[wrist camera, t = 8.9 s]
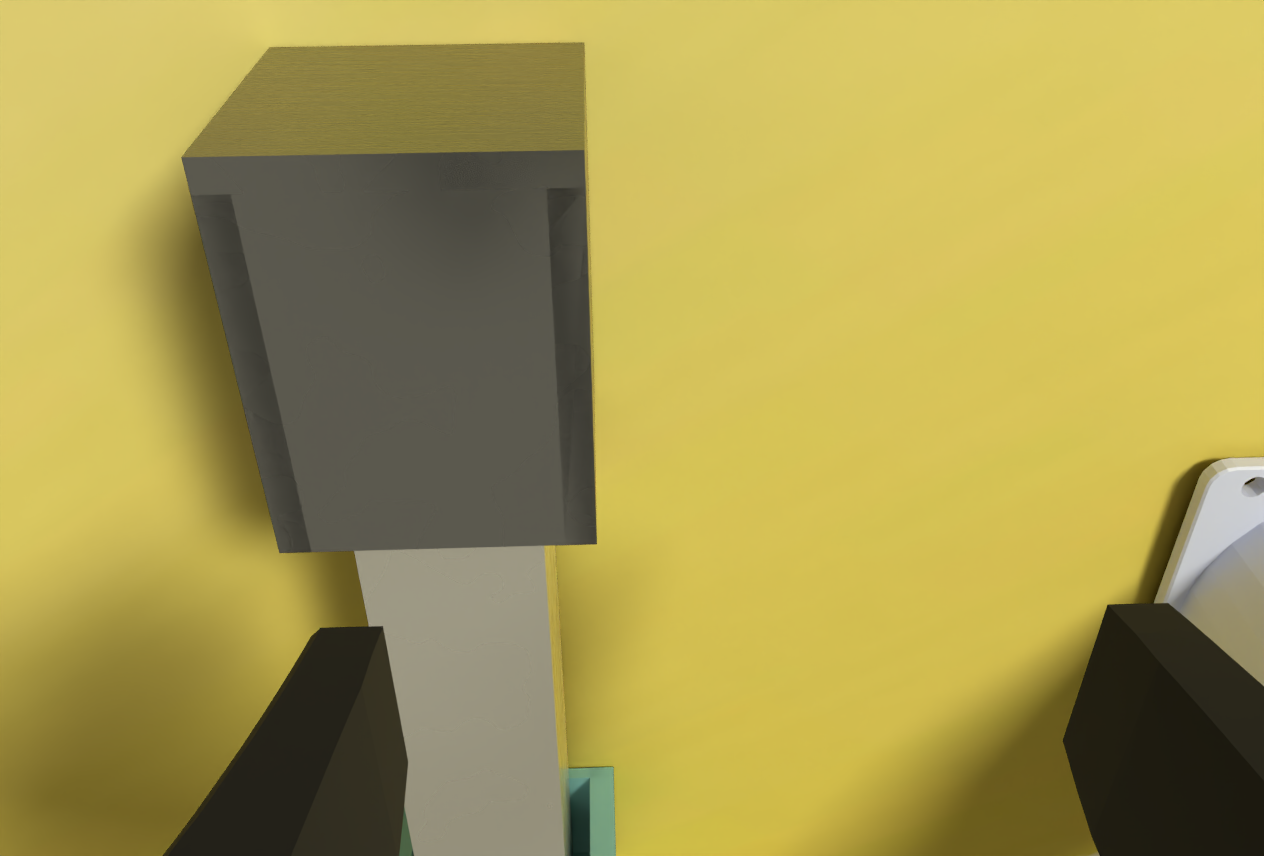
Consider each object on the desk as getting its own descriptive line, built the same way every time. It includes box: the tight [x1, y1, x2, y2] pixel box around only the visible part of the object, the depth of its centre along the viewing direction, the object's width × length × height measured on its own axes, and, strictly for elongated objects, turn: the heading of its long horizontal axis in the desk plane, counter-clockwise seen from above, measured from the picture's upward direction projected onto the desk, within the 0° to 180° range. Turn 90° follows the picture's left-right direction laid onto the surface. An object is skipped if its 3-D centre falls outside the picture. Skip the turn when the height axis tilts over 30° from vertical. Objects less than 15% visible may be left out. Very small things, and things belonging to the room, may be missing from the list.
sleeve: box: [182, 43, 597, 553], centre depth 18 cm, size 5×6×5 cm
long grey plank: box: [354, 545, 573, 856], centre depth 23 cm, size 3×14×3 cm, turn 1°
